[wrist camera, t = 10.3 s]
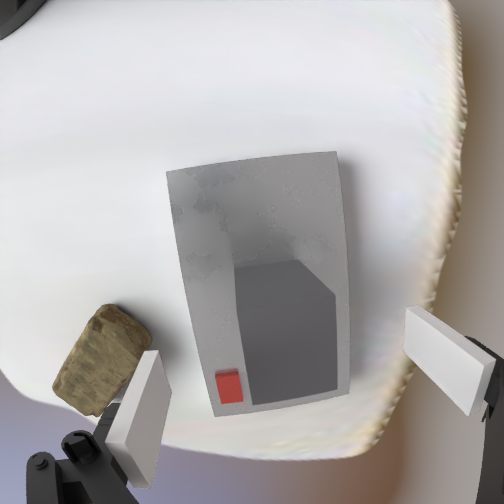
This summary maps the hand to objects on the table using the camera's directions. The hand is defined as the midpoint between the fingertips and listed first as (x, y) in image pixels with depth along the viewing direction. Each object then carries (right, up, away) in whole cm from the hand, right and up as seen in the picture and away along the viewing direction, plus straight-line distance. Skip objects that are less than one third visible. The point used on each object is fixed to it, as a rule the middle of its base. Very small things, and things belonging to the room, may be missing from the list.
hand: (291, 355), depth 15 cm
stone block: (-16, -5, +13) cm, 22 cm away
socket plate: (-1, +2, +12) cm, 13 cm away
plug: (-1, +2, +12) cm, 12 cm away
